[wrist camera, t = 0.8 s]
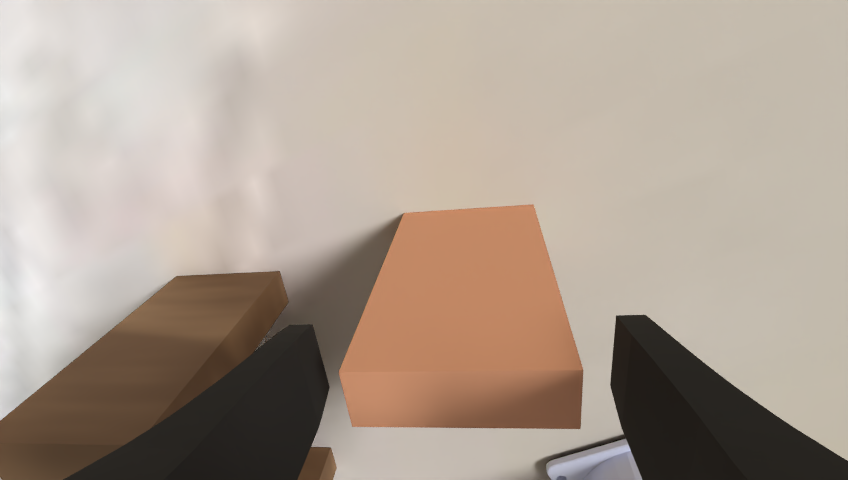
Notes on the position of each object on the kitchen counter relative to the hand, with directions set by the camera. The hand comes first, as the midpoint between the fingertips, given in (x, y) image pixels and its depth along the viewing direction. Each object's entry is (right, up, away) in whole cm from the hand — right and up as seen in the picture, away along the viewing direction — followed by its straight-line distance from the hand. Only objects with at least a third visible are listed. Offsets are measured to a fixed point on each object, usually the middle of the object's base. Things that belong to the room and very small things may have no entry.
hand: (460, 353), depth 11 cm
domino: (-10, +1, +9) cm, 13 cm away
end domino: (+1, +3, +7) cm, 8 cm away
